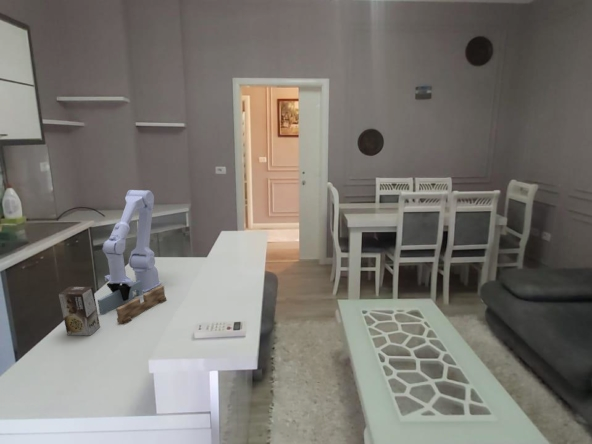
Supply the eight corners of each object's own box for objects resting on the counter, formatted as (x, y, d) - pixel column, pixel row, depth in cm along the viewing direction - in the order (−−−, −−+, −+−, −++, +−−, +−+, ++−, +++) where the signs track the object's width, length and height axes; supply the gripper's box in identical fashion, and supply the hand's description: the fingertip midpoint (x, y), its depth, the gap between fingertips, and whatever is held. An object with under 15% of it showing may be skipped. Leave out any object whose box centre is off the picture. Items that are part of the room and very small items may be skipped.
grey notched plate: (102, 314, 151) (100, 300, 149) (99, 313, 151) (97, 299, 150) (142, 293, 168) (141, 281, 166) (140, 293, 169) (138, 280, 167)
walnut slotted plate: (160, 298, 163) (158, 285, 162) (167, 299, 162) (165, 286, 160) (116, 322, 144) (114, 308, 143) (123, 324, 143) (121, 310, 141)
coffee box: (100, 326, 142) (94, 286, 138) (90, 336, 136) (82, 294, 132) (77, 325, 143) (70, 285, 139) (66, 335, 137) (57, 293, 132)
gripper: (96, 268, 155) (101, 299, 159) (121, 274, 149) (126, 306, 152) (111, 263, 161) (115, 292, 165) (136, 268, 155) (140, 299, 159)
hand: (121, 298), depth 159 cm, fingers open, 4 cm apart
